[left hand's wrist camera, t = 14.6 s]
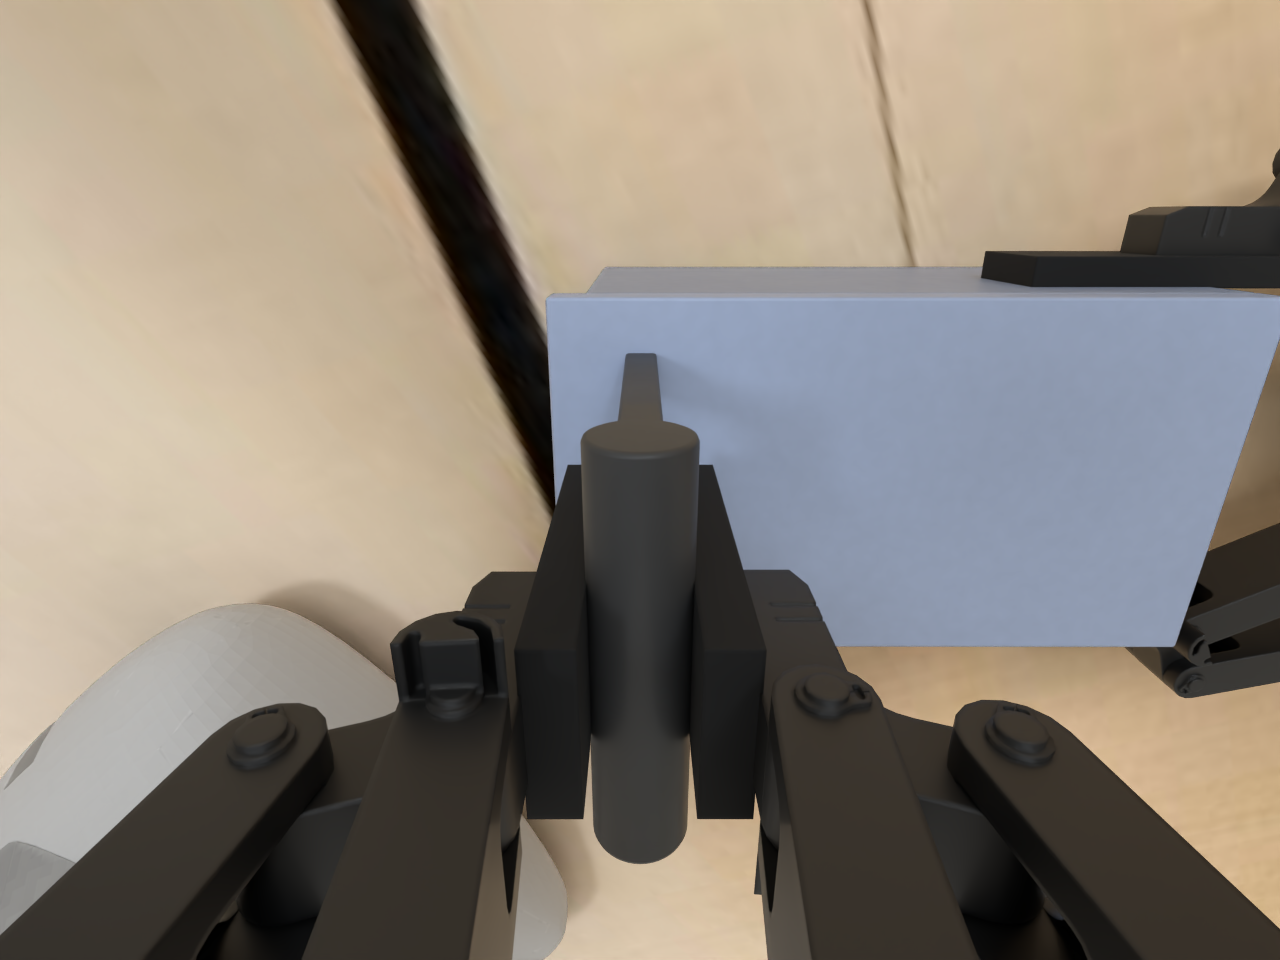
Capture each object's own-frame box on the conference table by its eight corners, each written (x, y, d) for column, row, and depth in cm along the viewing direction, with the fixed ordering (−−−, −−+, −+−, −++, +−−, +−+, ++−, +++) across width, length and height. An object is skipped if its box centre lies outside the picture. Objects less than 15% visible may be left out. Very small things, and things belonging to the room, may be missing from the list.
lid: (566, 627, 19) (513, 912, 11) (550, 292, 16) (459, 368, 8) (1151, 628, 19) (1506, 915, 11) (1259, 292, 16) (1870, 368, 8)
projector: (159, 940, 36) (-132, 1379, 22) (21, 560, 28) (-576, 891, 14) (573, 943, 36) (533, 1382, 23) (559, 564, 28) (481, 898, 14)
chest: (608, 504, 27) (594, 626, 19) (604, 266, 24) (584, 292, 16) (998, 504, 27) (1150, 627, 19) (1048, 266, 24) (1257, 292, 16)
